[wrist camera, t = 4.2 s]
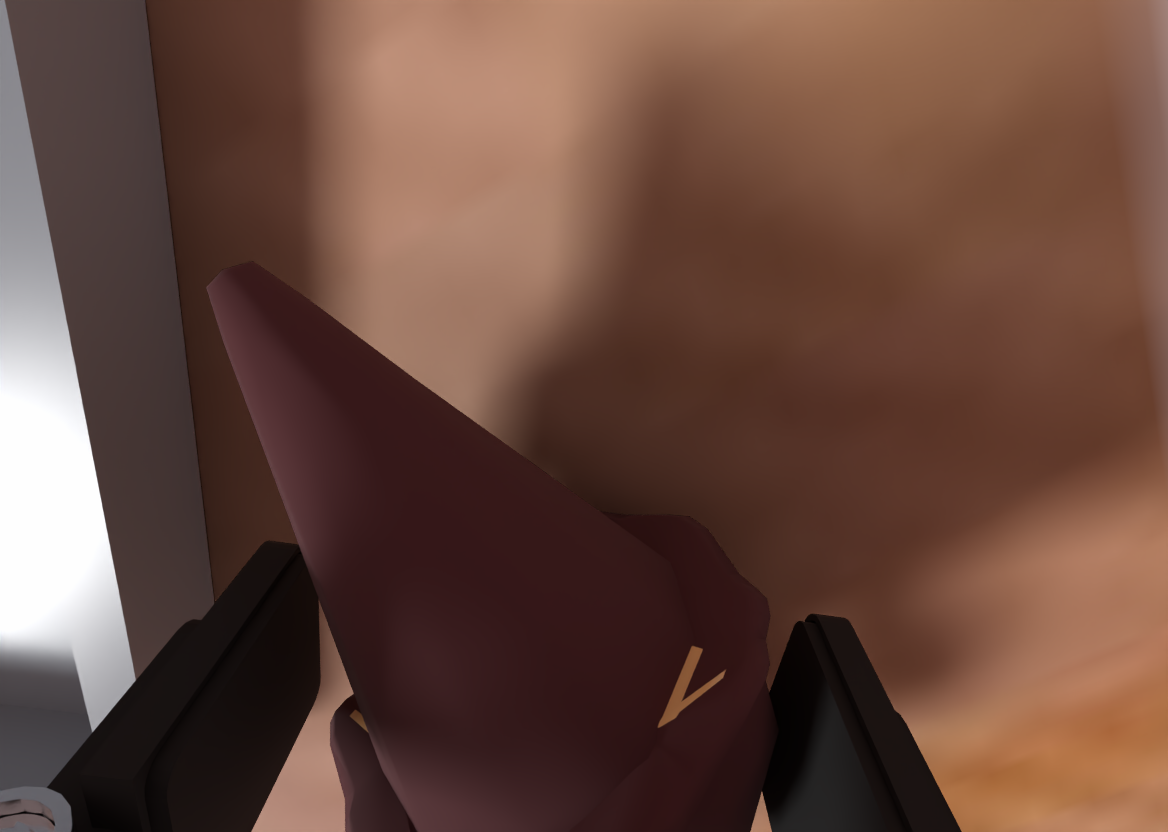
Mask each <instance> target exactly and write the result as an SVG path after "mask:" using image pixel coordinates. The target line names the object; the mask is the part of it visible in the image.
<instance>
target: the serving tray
mask: <svg viewBox="0 0 1168 832" xmlns="http://www.w3.org/2000/svg"><path fill="white" fill-rule="evenodd" d="M213 605H214V595H213V587H212V578H211V569H210V561H209V552H208V543H207V535H206V526H205V517H204V508H203V500H202V491H201V482H200V474H199V465H198V456H197V448H196V439H195V430H194V422H193V413H192V404H191V396H190V387H189V378H188V370H187V361H186V352H185V344H184V335H183V326H182V317H181V309H180V300H179V291H178V283H177V274H176V265H175V257H174V248H173V239H172V231H171V222H170V213H169V205H168V196H167V187H166V179H165V170H164V161H163V153H162V144H161V135H160V126H159V118H158V109H157V100H156V92H155V83H154V74H153V66H152V57H151V48H150V40H149V31H148V22H147V14H146V5H145V0H0V791H2V790H8V789H13V788H18V787H23V786H28V787H46V788H47V786H48V785H49V784H50V783H51V782H52V780H53V779H54V778H55V777H56V776H57V774H58V773H59V772H60V771H61V770H62V768H63V767H64V766H65V765H66V764H67V762H68V761H69V760H70V759H71V758H72V756H73V755H74V754H75V753H76V752H77V750H78V749H79V748H80V747H81V746H82V744H83V743H84V742H85V741H86V740H87V738H88V737H89V736H90V735H91V734H92V732H93V731H94V730H95V729H96V728H97V726H98V725H99V724H100V723H101V722H102V720H103V719H104V718H105V717H106V716H107V714H108V713H109V712H110V711H111V710H112V708H113V707H114V706H115V705H116V704H117V702H118V701H119V700H120V699H121V698H122V696H123V695H124V694H125V693H126V691H127V690H128V689H129V688H130V687H131V685H132V684H133V683H134V682H135V681H136V679H137V678H138V677H139V676H140V675H141V673H142V672H143V671H144V670H145V669H146V667H147V666H148V665H149V664H150V663H151V661H152V660H153V659H154V658H155V657H156V655H157V654H158V653H159V652H160V651H161V649H162V648H163V647H164V646H165V645H166V643H167V642H168V641H169V640H170V639H171V637H172V636H173V635H174V634H175V633H176V631H177V630H178V629H179V628H180V627H181V626H182V625H183V624H184V623H186V622H188V621H190V620H192V619H197V620H202V619H203V617H204V616H205V615H206V614H207V612H208V611H209V610H210V609H211V607H212V606H213Z"/></svg>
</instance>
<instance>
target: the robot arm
mask: <svg viewBox="0 0 1168 832" xmlns="http://www.w3.org/2000/svg"><path fill="white" fill-rule="evenodd" d="M320 678H321V675H320V639H319V602H318V595H317V593H316V590H315V587H314V585H313V582H312V579H311V576H310V574H309V571H308V568H307V566H306V563H305V560H304V558H303V555H302V552H301V549H300V547H299V545H298V544H291V543H283V542H276V541H266V542H264V543H263V544H262V545H261V546H260V547H259V549H258V550H257V551H256V552H255V554H254V555H253V556H252V557H251V559H250V560H249V561H248V562H247V564H246V565H245V566H244V567H243V569H242V570H241V571H240V572H239V574H238V575H237V576H236V577H235V579H234V580H233V581H232V582H231V584H230V585H229V586H228V587H227V589H226V590H225V591H224V592H223V594H222V595H221V596H220V597H219V599H218V600H217V601H216V602H215V604H214V605H213V606H212V607H211V609H210V610H209V611H208V612H207V614H206V615H205V616H204V617H203V619H202V620H197V619H192V620H190V621H188V622H186V623H184V624H183V625H182V626H181V627H180V628H179V629H178V630H177V631H176V633H175V634H174V635H173V636H172V637H171V639H170V640H169V641H168V642H167V643H166V645H165V646H164V647H163V648H162V649H161V651H160V652H159V653H158V654H157V655H156V657H155V658H154V659H153V660H152V661H151V663H150V664H149V665H148V666H147V667H146V669H145V670H144V671H143V672H142V673H141V675H140V676H139V677H138V678H137V679H136V681H135V682H134V683H133V684H132V685H131V687H130V688H129V689H128V690H127V691H126V693H125V694H124V695H123V696H122V698H121V699H120V700H119V701H118V702H117V704H116V705H115V706H114V707H113V708H112V710H111V711H110V712H109V713H108V714H107V716H106V717H105V718H104V719H103V720H102V722H101V723H100V724H99V725H98V726H97V728H96V729H95V730H94V731H93V732H92V734H91V735H90V736H89V737H88V738H87V740H86V741H85V742H84V743H83V744H82V746H81V747H80V748H79V749H78V750H77V752H76V753H75V754H74V755H73V756H72V758H71V759H70V760H69V761H68V762H67V764H66V765H65V766H64V767H63V768H62V770H61V771H60V772H59V773H58V774H57V776H56V777H55V778H54V779H53V780H52V782H51V783H50V784H49V785H48V786H47V788H46V787H28V786H23V787H18V788H13V789H8V790H2V791H0V832H251V831H252V829H253V827H254V825H255V823H256V821H257V819H258V817H259V815H260V813H261V811H262V809H263V807H264V805H265V803H266V800H267V798H268V796H269V794H270V792H271V790H272V788H273V786H274V784H275V782H276V780H277V778H278V776H279V774H280V772H281V770H282V768H283V766H284V764H285V762H286V760H287V758H288V756H289V754H290V752H291V750H292V747H293V745H294V743H295V741H296V739H297V737H298V735H299V733H300V731H301V729H302V727H303V725H304V723H305V721H306V719H307V717H308V715H309V713H310V711H311V709H312V707H313V705H314V702H315V700H316V697H317V694H318V691H319V686H320ZM769 695H770V699H771V702H772V706H773V710H774V713H775V717H776V721H777V724H778V728H779V732H778V736H777V739H776V743H775V746H774V750H773V753H772V757H771V760H770V764H769V767H768V771H767V774H766V778H765V781H764V785H763V788H762V792H763V796H764V800H765V804H766V809H767V813H768V817H769V821H770V825H771V829H772V832H961V830H960V828H959V826H958V824H957V822H956V820H955V818H954V816H953V814H952V812H951V810H950V808H949V806H948V804H947V802H946V800H945V798H944V796H943V795H942V793H941V791H940V789H939V787H938V785H937V783H936V781H935V779H934V777H933V775H932V773H931V771H930V769H929V767H928V765H927V763H926V761H925V759H924V757H923V755H922V754H921V752H920V750H919V748H918V746H917V744H916V742H915V740H914V738H913V736H912V734H911V732H910V730H909V728H908V726H907V724H906V723H905V721H904V720H903V718H902V717H901V715H900V714H899V713H897V712H896V711H895V710H894V708H893V706H892V704H891V702H890V700H889V698H888V696H887V694H886V692H885V690H884V688H883V686H882V684H881V682H880V680H879V678H878V676H877V674H876V672H875V670H874V668H873V666H872V664H871V662H870V660H869V658H868V656H867V654H866V652H865V650H864V648H863V646H862V645H861V643H860V641H859V639H858V637H857V635H856V633H855V631H854V629H853V627H852V625H851V623H850V622H849V620H847V619H845V618H841V617H834V616H826V615H819V614H810V615H808V616H807V618H806V620H805V622H803V621H798V622H797V623H796V624H795V626H794V628H793V630H792V633H791V636H790V638H789V641H788V644H787V647H786V649H785V652H784V655H783V657H782V660H781V663H780V665H779V668H778V671H777V673H776V676H775V679H774V681H773V684H772V687H771V690H770V692H769Z"/></svg>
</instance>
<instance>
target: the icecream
mask: <svg viewBox="0 0 1168 832" xmlns="http://www.w3.org/2000/svg"><path fill="white" fill-rule="evenodd" d="M206 289H207V292H208V295H209V298H210V301H211V304H212V308H213V311H214V314H215V317H216V320H217V323H218V327H219V330H220V333H221V336H222V339H223V342H224V345H225V348H226V351H227V354H228V356H229V359H230V362H231V364H232V367H233V370H234V372H235V375H236V378H237V380H238V383H239V386H240V388H241V391H242V394H243V396H244V399H245V402H246V404H247V407H248V410H249V412H250V415H251V418H252V420H253V423H254V426H255V428H256V431H257V434H258V436H259V439H260V442H261V444H262V447H263V450H264V452H265V455H266V458H267V461H268V463H269V466H270V469H271V471H272V474H273V477H274V479H275V482H276V485H277V487H278V490H279V493H280V495H281V498H282V501H283V504H284V506H285V509H286V512H287V514H288V517H289V520H290V522H291V525H292V528H293V531H294V533H295V536H296V539H297V541H298V544H299V547H300V549H301V552H302V555H303V558H304V560H305V563H306V566H307V568H308V571H309V574H310V576H311V579H312V582H313V585H314V587H315V590H316V593H317V595H318V598H319V601H320V603H321V606H322V609H323V612H324V614H325V617H326V620H327V622H328V625H329V628H330V630H331V633H332V636H333V638H334V641H335V644H336V647H337V649H338V652H339V655H340V657H341V660H342V663H343V665H344V668H345V671H346V674H347V676H348V679H349V682H350V684H351V687H352V690H353V692H354V694H353V695H352V696H350V697H349V698H347V699H346V700H345V701H344V702H343V703H342V705H341V706H340V707H339V708H338V709H337V710H336V711H335V713H334V715H333V718H332V720H331V722H330V746H331V750H332V753H333V757H334V761H335V764H336V768H337V772H338V775H339V779H340V783H341V786H342V790H343V793H344V797H345V831H346V832H750V830H751V827H752V823H753V820H754V816H755V813H756V809H757V806H758V802H759V799H760V795H761V792H762V788H763V785H764V781H765V778H766V774H767V771H768V767H769V764H770V760H771V757H772V753H773V750H774V746H775V743H776V739H777V736H778V732H779V728H778V724H777V721H776V717H775V713H774V710H773V706H772V702H771V699H770V695H769V691H768V688H767V684H766V677H767V673H768V670H769V666H770V661H769V656H768V650H767V644H766V636H767V631H768V626H769V621H770V611H769V606H768V601H767V599H766V598H765V596H764V595H763V594H762V593H761V592H760V591H759V590H758V589H756V588H755V587H754V586H753V585H752V584H750V583H749V582H748V581H747V580H746V579H745V578H743V577H742V576H741V575H740V574H739V573H738V571H737V570H736V568H735V567H734V566H733V564H732V563H731V561H730V560H729V559H728V557H727V556H726V554H725V553H724V552H723V550H722V549H721V547H720V546H719V545H718V543H717V542H716V540H715V539H714V538H713V536H712V535H711V533H710V532H709V530H708V529H707V528H705V527H704V526H702V525H701V524H700V523H698V522H697V521H695V520H694V519H693V518H691V517H690V516H679V515H623V514H616V513H609V512H602V511H598V510H597V509H595V508H594V507H593V506H591V505H590V504H588V503H587V502H586V501H584V500H583V499H581V498H580V497H579V496H577V495H576V494H574V493H573V492H572V491H570V490H569V489H568V488H566V487H565V486H563V485H562V484H561V483H559V482H558V481H556V480H555V479H554V478H552V477H551V476H549V475H548V474H547V473H545V472H544V471H542V470H541V469H540V468H538V467H537V466H535V465H534V464H533V463H531V462H530V461H528V460H527V459H526V458H524V457H523V456H521V455H520V454H519V453H517V452H516V451H515V450H513V449H512V448H510V447H509V446H508V445H506V444H505V443H503V442H502V441H501V440H499V439H498V438H496V437H495V436H494V435H492V434H491V433H489V432H488V431H487V430H485V429H484V428H482V427H481V426H480V425H478V424H477V423H475V422H474V421H473V420H471V419H470V418H469V417H467V416H466V415H464V414H463V413H462V412H460V411H459V410H457V409H456V408H455V407H453V406H452V405H450V404H449V403H448V402H446V401H445V400H443V399H442V398H441V397H439V396H438V395H436V394H435V393H434V392H432V391H431V390H429V389H428V388H427V387H425V386H424V385H423V384H421V383H420V382H418V381H417V380H416V379H414V378H413V377H412V376H410V375H409V374H408V373H406V372H405V371H404V370H402V369H401V368H400V367H398V366H397V365H396V364H394V363H393V362H392V361H390V360H389V359H388V358H386V357H385V356H383V355H382V354H381V353H379V352H378V351H377V350H375V349H374V348H373V347H371V346H370V345H369V344H367V343H366V342H365V341H363V340H362V339H361V338H359V337H358V336H357V335H355V334H354V333H353V332H351V331H350V330H349V329H347V328H346V327H345V326H343V325H342V324H341V323H339V322H338V321H337V320H335V319H334V318H333V317H331V316H330V315H329V314H327V313H326V312H325V311H323V310H322V309H321V308H319V307H318V306H317V305H315V304H314V303H313V302H311V301H310V300H309V299H307V298H306V297H304V296H303V295H302V294H300V293H299V292H297V291H296V290H294V289H293V288H291V287H290V286H288V285H287V284H285V283H284V282H283V281H281V280H280V279H278V278H277V277H275V276H274V275H272V274H271V273H269V272H268V271H266V270H265V269H264V268H262V267H261V266H259V265H258V264H256V263H255V262H253V261H252V262H248V263H244V264H241V265H237V266H233V267H230V268H226V269H222V271H221V272H220V273H219V274H218V275H217V276H216V277H215V278H214V279H213V281H212V282H211V283H210V284H209V285H208V286H207V287H206Z"/></svg>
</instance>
